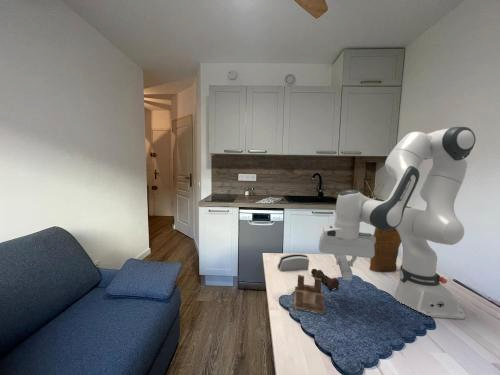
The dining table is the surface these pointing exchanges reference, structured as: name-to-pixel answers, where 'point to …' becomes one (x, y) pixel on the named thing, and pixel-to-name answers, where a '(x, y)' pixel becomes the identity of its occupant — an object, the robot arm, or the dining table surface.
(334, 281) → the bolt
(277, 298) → the dining table surface
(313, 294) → the clevis block
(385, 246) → the pancake mix bag
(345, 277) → the steel pin
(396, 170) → the robot arm
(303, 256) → the grey napkin holder
